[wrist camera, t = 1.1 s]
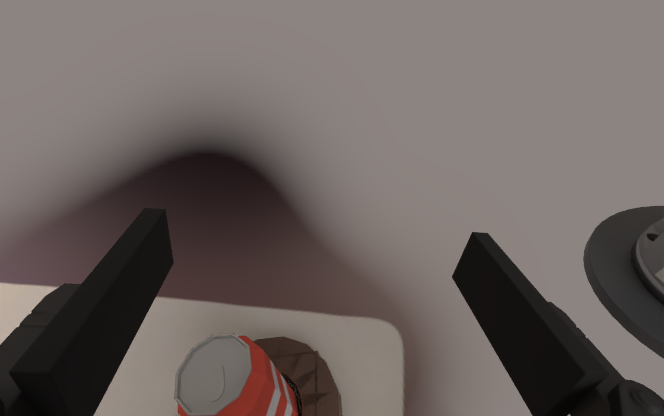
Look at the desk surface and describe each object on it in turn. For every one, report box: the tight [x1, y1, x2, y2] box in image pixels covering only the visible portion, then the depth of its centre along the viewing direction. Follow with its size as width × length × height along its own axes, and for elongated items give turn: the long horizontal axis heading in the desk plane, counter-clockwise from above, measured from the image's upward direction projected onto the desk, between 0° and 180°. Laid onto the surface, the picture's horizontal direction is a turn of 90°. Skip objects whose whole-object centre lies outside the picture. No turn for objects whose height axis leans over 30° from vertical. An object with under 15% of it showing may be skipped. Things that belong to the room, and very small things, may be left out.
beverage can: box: [174, 333, 300, 416], centre depth 24 cm, size 6×6×12 cm
